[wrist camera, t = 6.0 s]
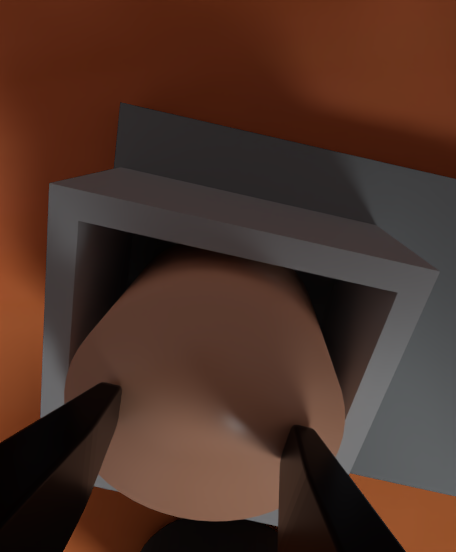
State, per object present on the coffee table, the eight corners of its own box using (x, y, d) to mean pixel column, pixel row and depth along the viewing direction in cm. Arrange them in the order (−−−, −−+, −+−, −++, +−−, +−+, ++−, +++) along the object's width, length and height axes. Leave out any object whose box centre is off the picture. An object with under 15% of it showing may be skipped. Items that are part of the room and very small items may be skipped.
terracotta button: (285, 418, 12) (299, 543, 8) (118, 381, 12) (57, 491, 8) (339, 260, 10) (388, 331, 6) (139, 215, 10) (72, 260, 6)
